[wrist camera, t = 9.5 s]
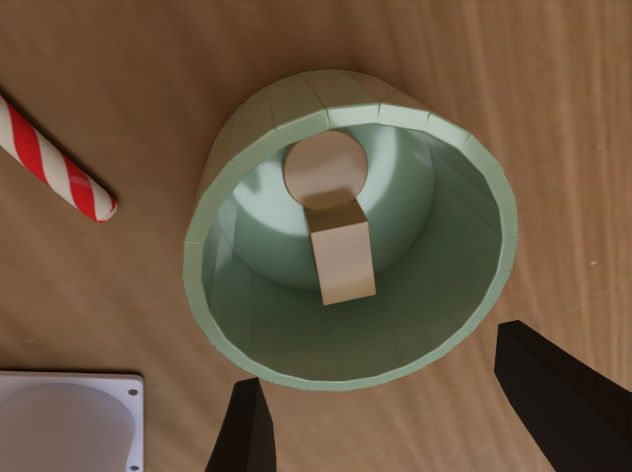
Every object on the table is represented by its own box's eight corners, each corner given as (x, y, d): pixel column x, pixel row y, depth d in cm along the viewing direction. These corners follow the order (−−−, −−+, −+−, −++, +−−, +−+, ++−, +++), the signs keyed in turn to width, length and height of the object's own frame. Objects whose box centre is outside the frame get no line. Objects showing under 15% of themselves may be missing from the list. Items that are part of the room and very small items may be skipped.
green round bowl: (402, 299, 23) (451, 394, 18) (196, 284, 21) (176, 388, 15) (476, 94, 18) (578, 137, 12) (212, 43, 16) (191, 68, 10)
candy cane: (28, 248, 17) (-359, -276, 10) (42, 233, 18) (-295, -247, 11) (207, 195, 17) (-39, -372, 10) (210, 183, 18) (-9, -333, 11)
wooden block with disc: (373, 258, 21) (389, 292, 18) (303, 272, 21) (310, 309, 18) (358, 115, 17) (376, 134, 15) (273, 132, 17) (277, 154, 15)
